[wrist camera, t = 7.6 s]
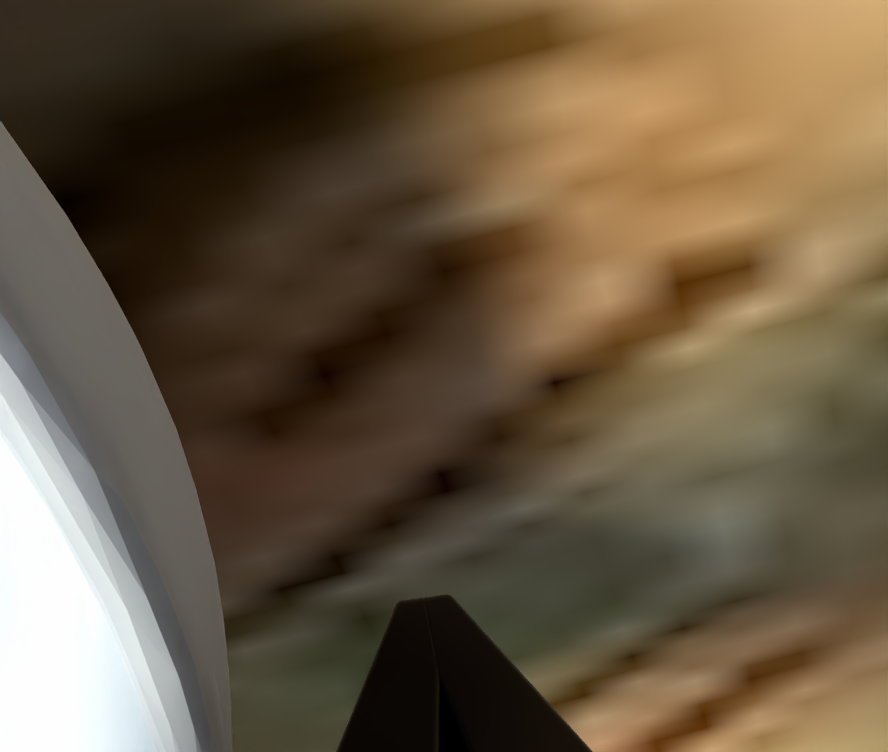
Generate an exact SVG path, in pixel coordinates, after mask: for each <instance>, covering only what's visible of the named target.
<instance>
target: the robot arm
mask: <svg viewBox="0 0 888 752" xmlns="http://www.w3.org/2000/svg"><path fill="white" fill-rule="evenodd" d="M336 752H592V750H591V749H590V748H589V747H588V746H587V745H586V744H585V743H584V742H583V741H582V739H581V738H580V737H579V736H578V735H577V734H576V733H575V732H574V731H573V730H572V728H571V727H570V726H569V725H568V724H567V723H566V722H565V721H564V720H563V718H562V717H561V716H560V715H559V714H558V713H557V712H556V711H555V710H554V709H553V707H552V706H551V705H550V704H549V703H548V702H547V701H546V700H545V699H544V697H543V696H542V695H541V694H540V693H539V692H538V691H537V690H536V689H535V688H534V686H533V685H532V684H531V683H530V682H529V681H528V680H527V679H526V678H525V677H524V675H523V674H522V673H521V672H520V671H519V670H518V669H517V668H516V667H515V665H514V664H513V663H512V662H511V661H510V660H509V659H508V658H507V657H506V656H505V654H504V653H503V652H502V651H501V650H500V649H499V648H498V647H497V646H496V645H495V643H494V642H493V641H492V640H491V639H490V638H489V637H488V636H487V635H486V633H485V632H484V631H483V630H482V629H481V628H480V627H479V626H478V625H477V624H476V622H475V621H474V620H473V619H472V618H471V617H470V616H469V615H468V614H467V612H466V611H465V610H464V609H463V608H462V607H461V606H460V605H459V604H458V603H457V601H456V600H455V599H454V598H453V597H452V596H450V595H440V596H432V597H425V598H417V599H410V600H402V601H399V602H398V603H397V604H396V606H395V608H394V611H393V613H392V616H391V618H390V620H389V623H388V625H387V628H386V630H385V633H384V635H383V638H382V640H381V643H380V645H379V648H378V650H377V653H376V655H375V657H374V660H373V662H372V665H371V667H370V670H369V672H368V675H367V677H366V680H365V682H364V685H363V687H362V689H361V692H360V694H359V697H358V699H357V702H356V704H355V707H354V709H353V712H352V714H351V717H350V719H349V722H348V724H347V726H346V729H345V731H344V734H343V736H342V739H341V741H340V744H339V746H338V749H337V751H336Z"/></svg>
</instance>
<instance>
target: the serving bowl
mask: <svg viewBox="0 0 888 752" xmlns="http://www.w3.org/2000/svg"><path fill="white" fill-rule="evenodd" d="M0 752H232V714H231V694H230V676H229V665H228V656H227V646H226V636H225V627H224V617H223V611H222V604H221V598H220V592H219V586H218V579H217V573H216V567H215V561H214V557H213V553H212V549H211V545H210V542H209V538H208V534H207V530H206V526H205V522H204V518H203V514H202V510H201V506H200V502H199V498H198V494H197V490H196V487H195V484H194V481H193V478H192V475H191V472H190V469H189V466H188V463H187V459H186V456H185V453H184V450H183V447H182V444H181V441H180V438H179V435H178V432H177V429H176V426H175V424H174V422H173V420H172V417H171V415H170V413H169V410H168V408H167V406H166V403H165V401H164V399H163V396H162V394H161V392H160V389H159V387H158V385H157V383H156V380H155V378H154V376H153V373H152V371H151V369H150V366H149V364H148V362H147V359H146V357H145V355H144V352H143V350H142V348H141V346H140V344H139V342H138V340H137V338H136V336H135V334H134V332H133V330H132V328H131V326H130V324H129V323H128V321H127V319H126V317H125V315H124V313H123V311H122V309H121V308H120V306H119V304H118V302H117V300H116V298H115V296H114V295H113V293H112V291H111V289H110V287H109V285H108V283H107V282H106V280H105V278H104V277H103V275H102V273H101V272H100V270H99V268H98V267H97V265H96V263H95V262H94V260H93V258H92V257H91V255H90V253H89V252H88V250H87V248H86V247H85V245H84V243H83V242H82V240H81V238H80V237H79V235H78V233H77V232H76V230H75V228H74V227H73V225H72V223H71V222H70V220H69V218H68V217H67V215H66V214H65V212H64V211H63V210H62V208H61V207H60V205H59V204H58V202H57V201H56V200H55V198H54V197H53V195H52V194H51V192H50V191H49V190H48V188H47V187H46V185H45V184H44V182H43V181H42V180H41V178H40V177H39V175H38V174H37V172H36V171H35V169H34V168H33V167H32V165H31V164H30V162H29V161H28V159H27V158H26V157H25V155H24V154H23V152H22V151H21V149H20V148H19V147H18V145H17V144H16V142H15V141H14V139H13V138H12V137H11V135H10V134H9V132H8V131H7V129H6V128H5V127H4V125H3V124H2V122H1V121H0Z"/></svg>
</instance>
